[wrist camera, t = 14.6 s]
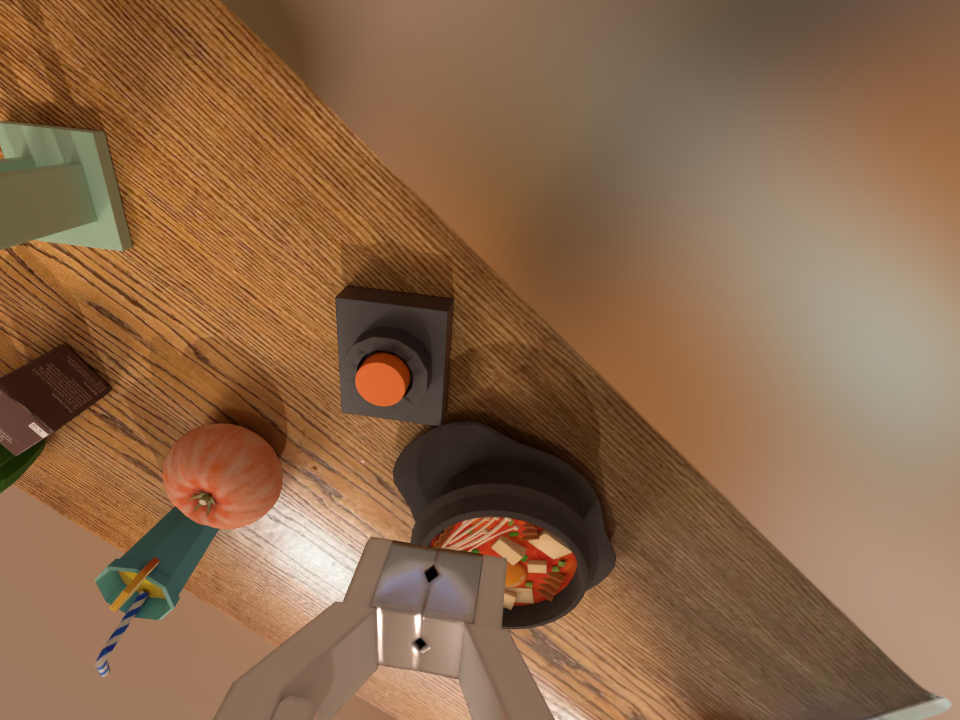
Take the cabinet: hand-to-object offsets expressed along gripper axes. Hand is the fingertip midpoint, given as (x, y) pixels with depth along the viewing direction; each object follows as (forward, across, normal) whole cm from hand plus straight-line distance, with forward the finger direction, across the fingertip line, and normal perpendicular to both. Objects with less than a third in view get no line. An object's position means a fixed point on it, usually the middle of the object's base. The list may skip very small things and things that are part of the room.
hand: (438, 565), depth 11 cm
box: (+31, +42, +20) cm, 56 cm away
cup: (+31, +32, +37) cm, 58 cm away
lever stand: (+31, +36, +1) cm, 48 cm away
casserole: (+31, -2, +28) cm, 42 cm away
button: (+27, +9, +12) cm, 31 cm away
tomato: (+31, +25, +26) cm, 48 cm away
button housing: (+31, +9, +12) cm, 34 cm away
